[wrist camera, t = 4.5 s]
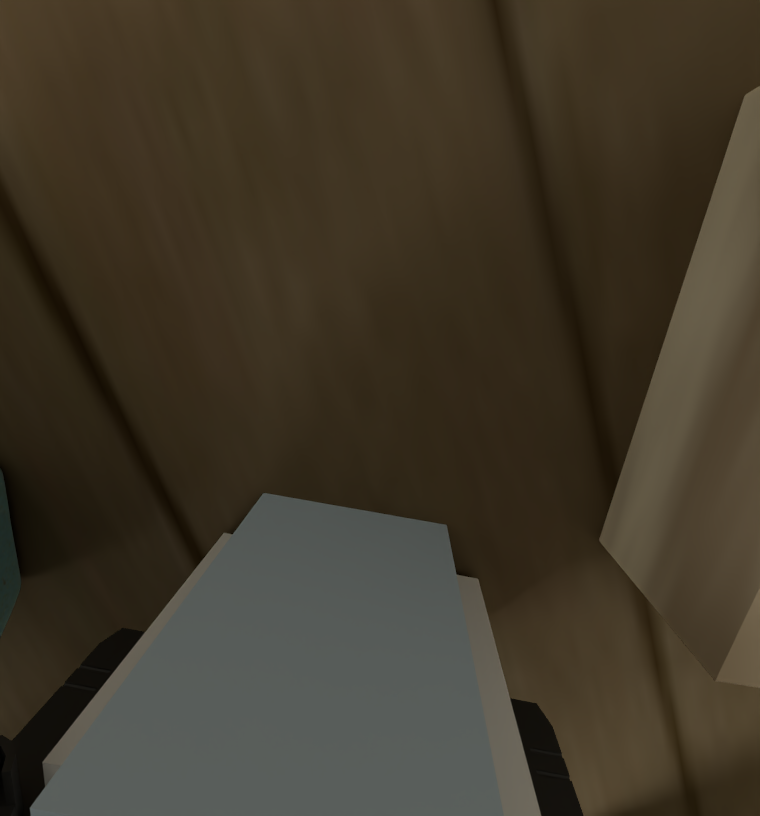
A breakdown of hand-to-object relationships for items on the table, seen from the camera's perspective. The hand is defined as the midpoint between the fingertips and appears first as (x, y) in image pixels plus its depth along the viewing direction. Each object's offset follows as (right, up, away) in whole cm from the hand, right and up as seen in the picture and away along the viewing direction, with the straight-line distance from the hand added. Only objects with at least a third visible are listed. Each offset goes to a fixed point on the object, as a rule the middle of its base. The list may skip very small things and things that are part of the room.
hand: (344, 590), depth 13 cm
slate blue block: (0, 0, 0) cm, 0 cm away
